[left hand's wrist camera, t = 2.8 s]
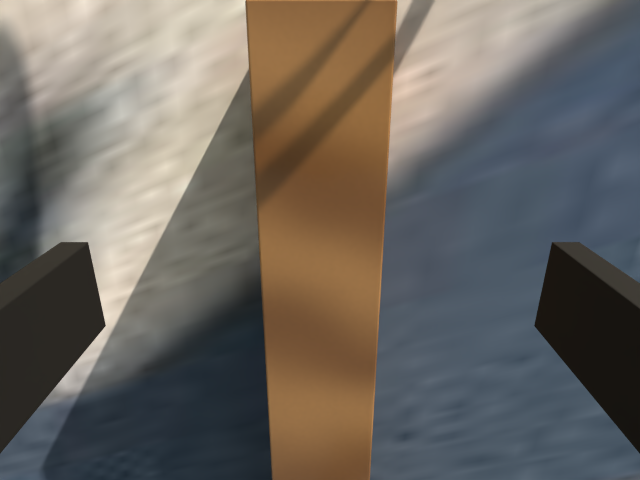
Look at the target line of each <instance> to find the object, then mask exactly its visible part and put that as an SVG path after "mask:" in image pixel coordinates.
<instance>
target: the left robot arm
mask: <svg viewBox="0 0 640 480" xmlns="http://www.w3.org/2000/svg"><path fill="white" fill-rule="evenodd" d="M105 326H106V325H105V321H104V316H103V311H102V306H101V302H100V297H99V292H98V288H97V283H96V278H95V273H94V269H93V264H92V259H91V255H90V250H89V245H88V242H61V243H59V244H58V245H56V246H55V247H53V248H52V249H50V250H49V251H47V252H46V253H44V254H43V255H41V256H40V257H38V258H37V259H36V260H34V261H33V262H31V263H30V264H28V265H27V266H25V267H24V268H22V269H21V270H19V271H18V272H16V273H15V274H13V275H12V276H10V277H9V278H8V279H6V280H5V281H3V282H2V283H0V453H1V452H2V451H3V449H4V448H5V447H6V446H7V445H8V443H9V442H10V441H11V440H12V439H13V437H14V436H15V435H16V434H17V433H18V431H19V430H20V429H21V428H22V426H23V425H24V424H25V423H26V422H27V420H28V419H29V418H30V417H31V416H32V414H33V413H34V412H35V411H36V409H37V408H38V407H39V406H40V405H41V403H42V402H43V401H44V400H45V399H46V397H47V396H48V395H49V394H50V393H51V391H52V390H53V389H54V388H55V386H56V385H57V384H58V383H59V382H60V380H61V379H62V378H63V377H64V376H65V374H66V373H67V372H68V371H69V370H70V368H71V367H72V366H73V365H74V363H75V362H76V361H77V360H78V359H79V357H80V356H81V355H82V354H83V353H84V351H85V350H86V349H87V348H88V347H89V345H90V344H91V343H92V342H93V340H94V339H95V338H96V337H97V336H98V334H99V333H100V332H101V331H102V330H103V328H104V327H105ZM534 326H535V327H536V328H537V330H538V331H539V332H540V333H541V334H542V336H543V337H544V338H545V339H546V340H547V342H548V343H549V344H550V345H551V347H552V348H553V349H554V350H555V351H556V353H557V354H558V355H559V356H560V357H561V359H562V360H563V361H564V362H565V363H566V365H567V366H568V367H569V368H570V370H571V371H572V372H573V373H574V374H575V376H576V377H577V378H578V379H579V380H580V382H581V383H582V384H583V385H584V386H585V388H586V389H587V390H588V391H589V393H590V394H591V395H592V396H593V397H594V399H595V400H596V401H597V402H598V403H599V405H600V406H601V407H602V408H603V409H604V411H605V412H606V413H607V414H608V416H609V417H610V418H611V419H612V420H613V422H614V423H615V424H616V425H617V426H618V428H619V429H620V430H621V431H622V433H623V434H624V435H625V436H626V437H627V439H628V440H629V441H630V442H631V443H632V445H633V446H634V447H635V448H636V449H637V451H638V452H639V453H640V283H638V282H637V281H635V280H634V279H632V278H631V277H630V276H628V275H627V274H625V273H624V272H622V271H621V270H619V269H618V268H616V267H615V266H613V265H612V264H610V263H609V262H607V261H606V260H604V259H603V258H602V257H600V256H599V255H597V254H596V253H594V252H593V251H591V250H590V249H588V248H587V247H585V246H584V245H582V244H581V243H579V242H552V245H551V250H550V255H549V259H548V264H547V269H546V273H545V278H544V283H543V288H542V292H541V297H540V302H539V306H538V311H537V316H536V321H535V325H534Z"/></svg>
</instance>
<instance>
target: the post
mask: <svg viewBox="0 0 640 480" xmlns="http://www.w3.org/2000/svg"><path fill="white" fill-rule="evenodd" d="M245 3H246V21H247V39H248V57H249V75H250V93H251V111H252V129H253V147H254V165H255V183H256V201H257V218H258V236H259V254H260V272H261V290H262V308H263V326H264V344H265V362H266V380H267V398H268V416H269V433H270V451H271V469H272V480H370V465H371V448H372V430H373V413H374V396H375V378H376V361H377V344H378V327H379V309H380V292H381V275H382V258H383V240H384V223H385V206H386V189H387V171H388V154H389V137H390V119H391V102H392V85H393V68H394V50H395V33H396V16H397V0H246V2H245Z"/></svg>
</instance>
